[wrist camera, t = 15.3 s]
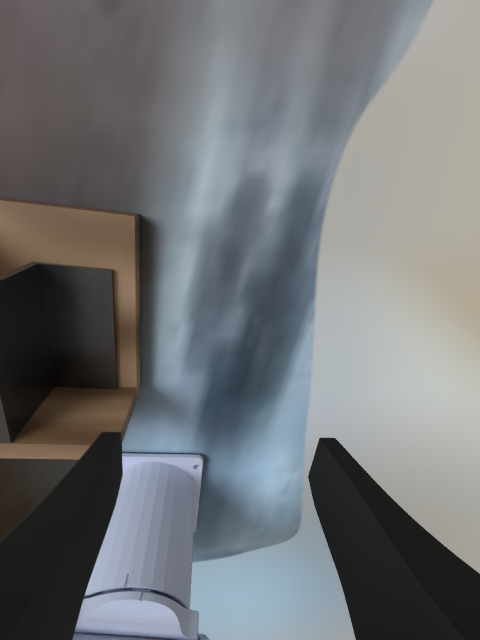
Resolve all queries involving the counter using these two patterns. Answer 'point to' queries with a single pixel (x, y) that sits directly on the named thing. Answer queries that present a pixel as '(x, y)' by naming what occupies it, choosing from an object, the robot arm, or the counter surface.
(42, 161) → the counter surface
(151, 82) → the counter surface
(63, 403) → the shelf
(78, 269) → the bookend
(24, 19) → the counter surface
